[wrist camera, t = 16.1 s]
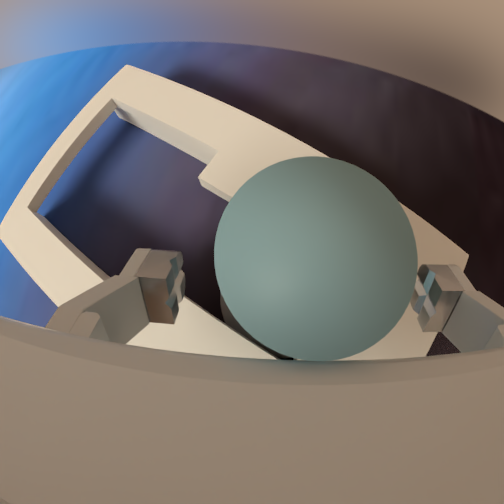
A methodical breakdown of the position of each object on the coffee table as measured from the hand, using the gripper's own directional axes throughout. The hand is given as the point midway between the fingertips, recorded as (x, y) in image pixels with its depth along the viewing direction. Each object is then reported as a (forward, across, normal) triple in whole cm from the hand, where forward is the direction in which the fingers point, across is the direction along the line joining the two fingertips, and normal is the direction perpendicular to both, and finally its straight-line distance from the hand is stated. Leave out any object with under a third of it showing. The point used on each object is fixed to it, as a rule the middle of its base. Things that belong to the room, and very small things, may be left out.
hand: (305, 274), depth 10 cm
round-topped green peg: (+5, 0, +5) cm, 7 cm away
